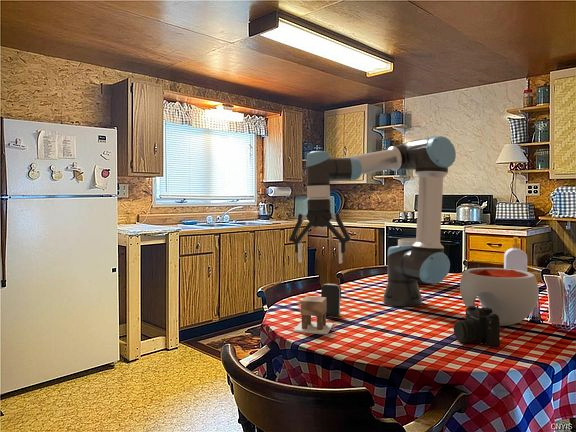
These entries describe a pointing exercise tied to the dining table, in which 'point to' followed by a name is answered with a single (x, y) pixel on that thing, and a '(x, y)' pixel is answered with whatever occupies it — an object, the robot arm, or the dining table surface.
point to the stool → (313, 311)
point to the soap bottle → (515, 257)
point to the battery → (332, 298)
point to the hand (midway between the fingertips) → (320, 262)
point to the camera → (479, 327)
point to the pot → (501, 292)
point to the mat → (313, 328)
